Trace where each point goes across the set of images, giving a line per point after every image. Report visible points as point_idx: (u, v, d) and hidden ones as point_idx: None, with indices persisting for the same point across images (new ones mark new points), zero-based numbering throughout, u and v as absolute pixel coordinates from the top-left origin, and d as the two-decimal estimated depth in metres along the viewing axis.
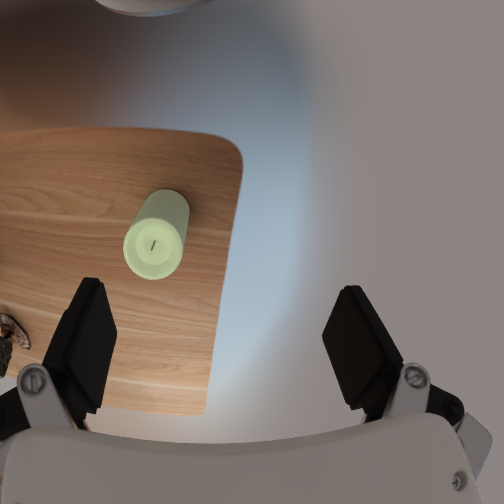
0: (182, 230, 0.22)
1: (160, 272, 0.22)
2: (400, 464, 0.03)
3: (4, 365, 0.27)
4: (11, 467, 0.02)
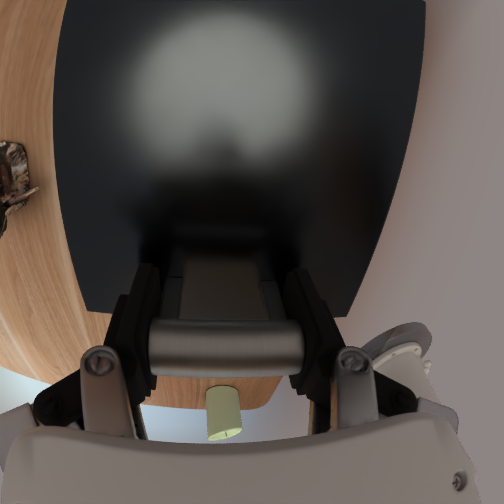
0: None
1: (212, 438, 0.32)
2: (400, 464, 0.03)
3: None
4: (11, 467, 0.02)
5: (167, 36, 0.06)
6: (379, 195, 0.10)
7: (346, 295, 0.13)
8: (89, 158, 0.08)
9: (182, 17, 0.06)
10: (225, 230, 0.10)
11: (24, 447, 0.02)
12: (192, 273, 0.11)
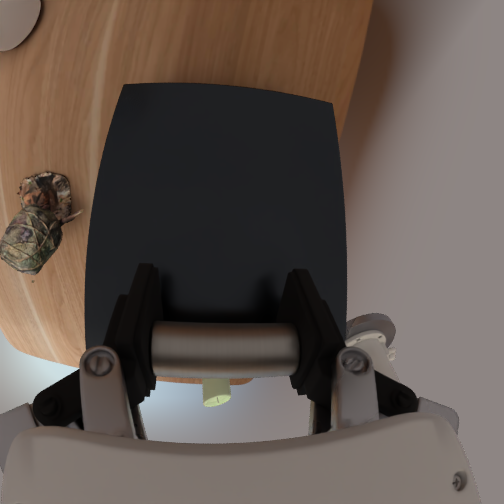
0: None
1: (206, 404, 0.42)
2: (400, 464, 0.03)
3: None
4: (11, 467, 0.02)
5: (177, 144, 0.13)
6: (334, 242, 0.14)
7: None
8: (118, 219, 0.12)
9: (186, 133, 0.13)
10: (218, 279, 0.13)
11: (24, 447, 0.02)
12: (192, 322, 0.12)
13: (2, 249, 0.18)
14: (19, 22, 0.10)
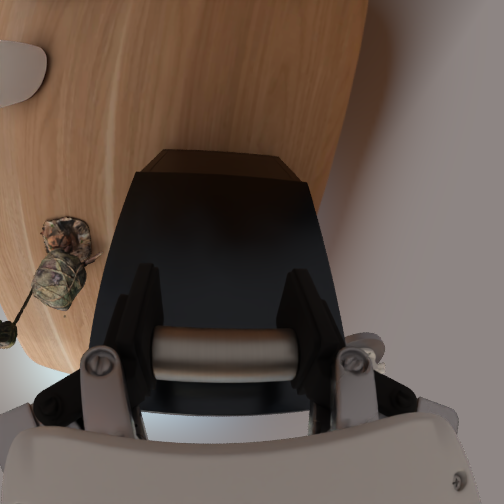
0: None
1: None
2: (400, 464, 0.03)
3: None
4: (11, 467, 0.02)
5: (180, 216, 0.17)
6: (323, 287, 0.16)
7: None
8: (129, 271, 0.14)
9: (187, 208, 0.18)
10: (219, 321, 0.14)
11: (24, 447, 0.02)
12: None
13: (35, 289, 0.24)
14: (28, 80, 0.17)
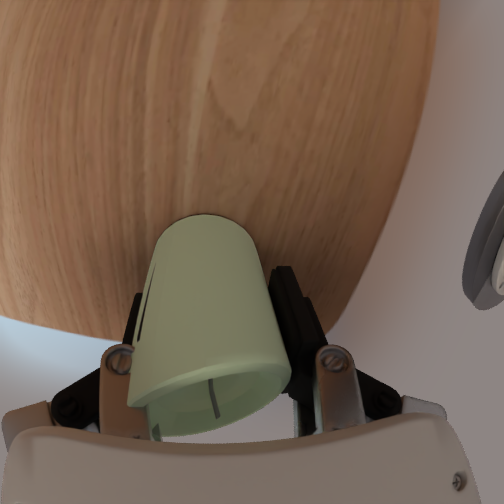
0: None
1: None
2: (400, 464, 0.03)
3: None
4: (11, 467, 0.02)
5: None
6: None
7: None
8: None
9: None
10: None
11: (24, 447, 0.02)
12: None
13: None
14: None
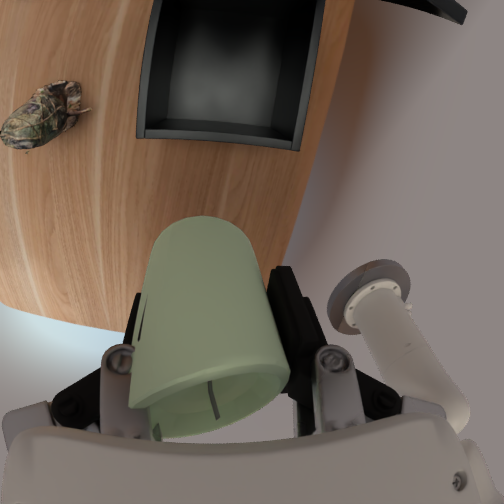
0: None
1: None
2: (400, 464, 0.03)
3: None
4: (11, 467, 0.02)
5: None
6: None
7: None
8: None
9: None
10: None
11: (24, 447, 0.02)
12: None
13: (4, 126, 0.15)
14: None
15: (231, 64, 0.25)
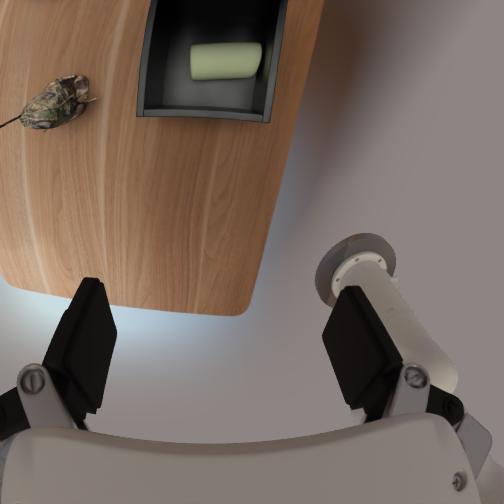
0: (239, 78, 0.28)
1: None
2: (400, 464, 0.03)
3: None
4: (11, 467, 0.02)
5: None
6: None
7: None
8: None
9: None
10: None
11: (24, 447, 0.02)
12: None
13: (24, 110, 0.19)
14: None
15: None
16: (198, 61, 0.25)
